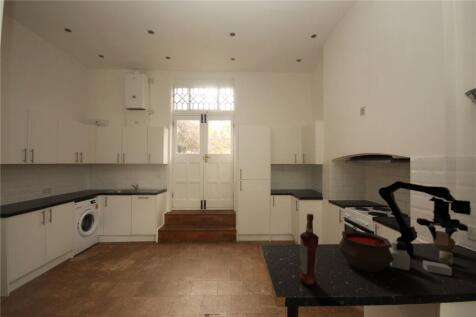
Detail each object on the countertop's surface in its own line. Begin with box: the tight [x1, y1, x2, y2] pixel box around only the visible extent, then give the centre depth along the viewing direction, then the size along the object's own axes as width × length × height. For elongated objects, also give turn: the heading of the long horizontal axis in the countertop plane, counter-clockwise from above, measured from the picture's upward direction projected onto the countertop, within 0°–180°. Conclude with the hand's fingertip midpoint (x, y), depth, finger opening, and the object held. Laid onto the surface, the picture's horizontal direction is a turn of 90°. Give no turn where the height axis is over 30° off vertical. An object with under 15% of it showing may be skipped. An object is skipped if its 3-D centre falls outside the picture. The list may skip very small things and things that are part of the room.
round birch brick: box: [438, 250, 454, 266], centre depth 110 cm, size 5×5×5 cm
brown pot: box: [339, 225, 394, 273], centre depth 103 cm, size 24×24×16 cm
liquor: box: [298, 213, 320, 286], centre depth 87 cm, size 7×7×28 cm
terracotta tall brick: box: [432, 230, 449, 246], centre depth 109 cm, size 4×4×6 cm
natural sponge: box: [433, 236, 456, 253], centre depth 125 cm, size 9×9×10 cm
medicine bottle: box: [389, 239, 411, 271], centre depth 104 cm, size 7×7×12 cm
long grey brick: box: [422, 260, 453, 276], centre depth 100 cm, size 9×4×4 cm, turn 68°
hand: (440, 240), depth 109 cm, fingers closed on terracotta tall brick, 4 cm apart
